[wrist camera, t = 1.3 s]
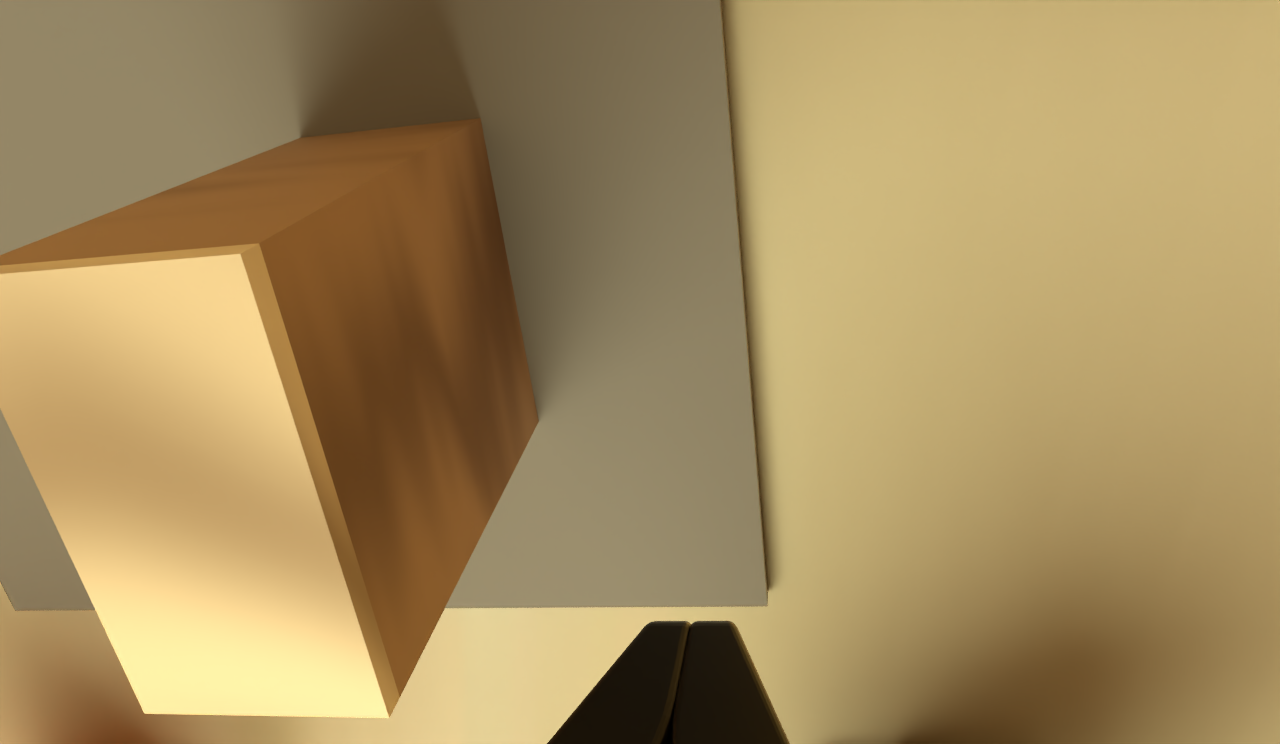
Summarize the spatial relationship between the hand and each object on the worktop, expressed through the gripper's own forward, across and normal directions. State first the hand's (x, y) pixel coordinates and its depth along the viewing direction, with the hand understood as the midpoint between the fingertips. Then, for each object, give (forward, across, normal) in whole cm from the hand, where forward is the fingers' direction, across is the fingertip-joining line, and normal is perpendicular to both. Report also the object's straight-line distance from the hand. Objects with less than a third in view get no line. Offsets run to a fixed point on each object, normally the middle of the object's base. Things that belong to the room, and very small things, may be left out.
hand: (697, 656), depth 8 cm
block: (+12, +7, 0) cm, 13 cm away
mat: (+12, +11, 0) cm, 16 cm away
